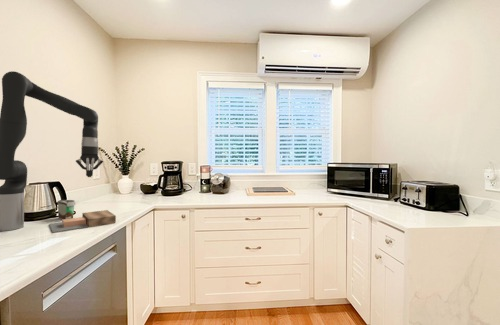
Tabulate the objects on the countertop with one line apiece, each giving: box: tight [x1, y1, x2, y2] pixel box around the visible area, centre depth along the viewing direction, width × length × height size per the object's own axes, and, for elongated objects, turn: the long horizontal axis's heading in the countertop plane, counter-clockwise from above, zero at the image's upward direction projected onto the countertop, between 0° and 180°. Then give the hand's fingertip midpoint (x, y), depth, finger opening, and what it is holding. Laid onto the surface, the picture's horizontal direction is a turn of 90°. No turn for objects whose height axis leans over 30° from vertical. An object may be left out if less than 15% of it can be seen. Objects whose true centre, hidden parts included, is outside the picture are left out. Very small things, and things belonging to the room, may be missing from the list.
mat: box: [48, 221, 89, 234], centre depth 117 cm, size 14×18×1 cm
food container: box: [57, 199, 77, 220], centre depth 132 cm, size 12×6×10 cm, turn 59°
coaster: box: [61, 216, 86, 227], centre depth 118 cm, size 9×7×2 cm
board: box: [81, 209, 117, 228], centre depth 126 cm, size 12×18×4 cm, turn 45°
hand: (89, 177), depth 126 cm, fingers closed
